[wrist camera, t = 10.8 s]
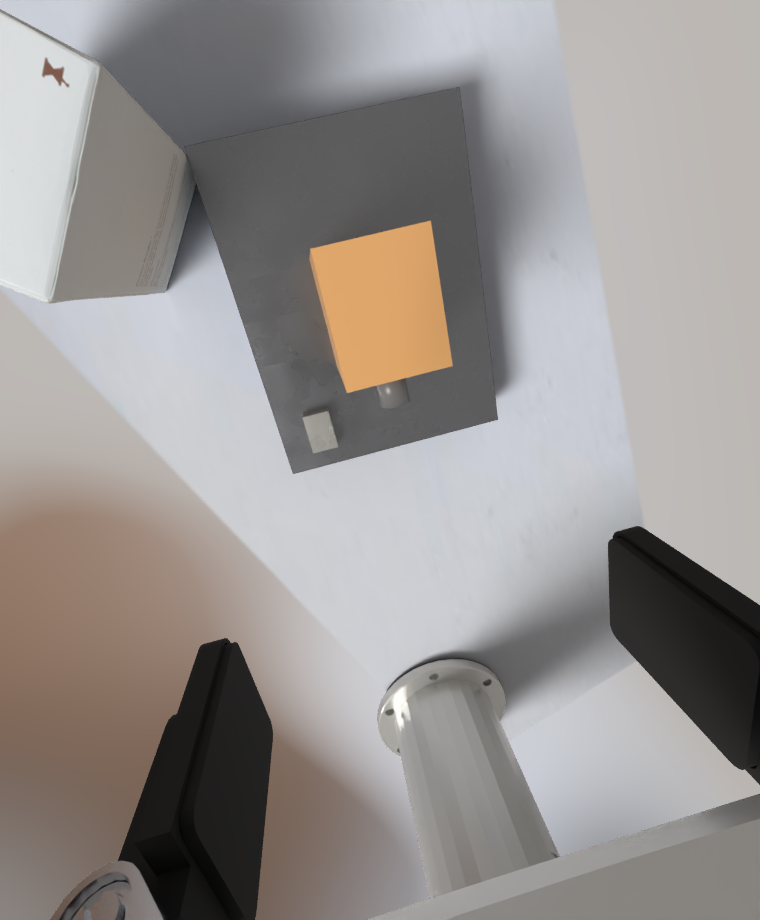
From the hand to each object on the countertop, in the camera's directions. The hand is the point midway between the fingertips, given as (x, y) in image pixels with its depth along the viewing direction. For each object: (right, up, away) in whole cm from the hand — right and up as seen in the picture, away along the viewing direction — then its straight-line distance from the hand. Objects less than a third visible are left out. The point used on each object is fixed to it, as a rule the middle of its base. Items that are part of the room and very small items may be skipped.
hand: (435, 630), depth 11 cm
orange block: (-2, +14, +16) cm, 21 cm away
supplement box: (-16, +18, +14) cm, 28 cm away
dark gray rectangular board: (-3, +14, +17) cm, 22 cm away
